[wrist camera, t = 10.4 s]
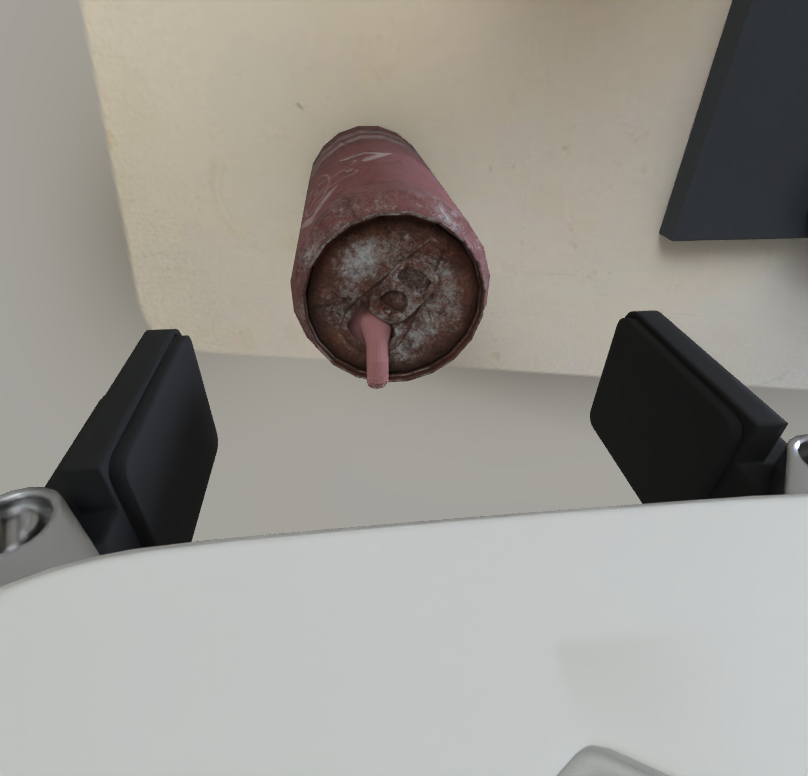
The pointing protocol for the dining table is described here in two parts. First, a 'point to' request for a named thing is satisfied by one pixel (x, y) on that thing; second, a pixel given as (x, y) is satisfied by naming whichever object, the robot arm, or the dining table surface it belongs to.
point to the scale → (749, 132)
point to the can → (385, 261)
